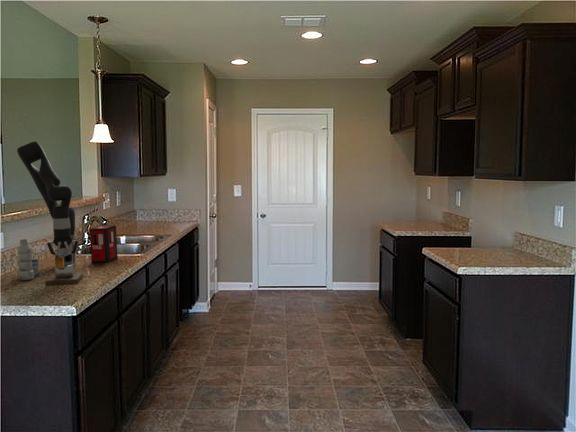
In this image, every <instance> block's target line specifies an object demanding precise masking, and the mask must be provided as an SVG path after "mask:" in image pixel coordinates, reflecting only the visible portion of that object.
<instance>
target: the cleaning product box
mask: <svg viewBox="0 0 576 432" xmlns="http://www.w3.org/2000/svg"><path fill="white" fill-rule="evenodd" d="M117 239H118V238H117V226H116V225H98V226H96V227H91V228H90V229H89V241H90V242H89V244H90V255H91V256H90V259H91V260H90V261H91V264H92V265H93V263H107V264H109V263H111V262H114V261H115V260H117V259H118V243H117V241H118V240H117Z"/></svg>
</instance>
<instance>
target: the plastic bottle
mask: <svg viewBox="0 0 576 432" xmlns="http://www.w3.org/2000/svg"><path fill="white" fill-rule="evenodd" d="M29 243H30V241H29V239H28V238H27V239H26V238H25V239H20V240H19V245H20V246H18V249H17V256H18V261H19V262H20V271H19V270H18V278H19V279H20V280H21V281H30V280H33V279H34V271H33V266H32V259H33V247H32V246H31V245H30V244H29Z"/></svg>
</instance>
